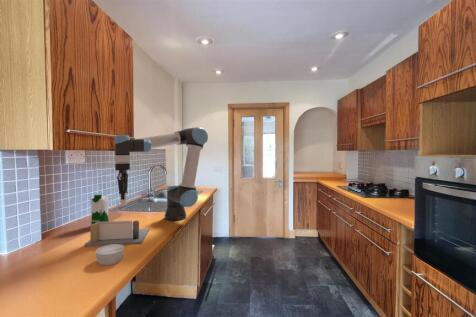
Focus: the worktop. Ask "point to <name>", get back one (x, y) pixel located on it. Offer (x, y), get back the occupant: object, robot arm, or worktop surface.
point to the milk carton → (99, 209)
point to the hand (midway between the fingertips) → (123, 204)
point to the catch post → (94, 233)
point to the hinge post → (135, 229)
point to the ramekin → (109, 254)
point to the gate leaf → (115, 230)
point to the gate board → (121, 240)
